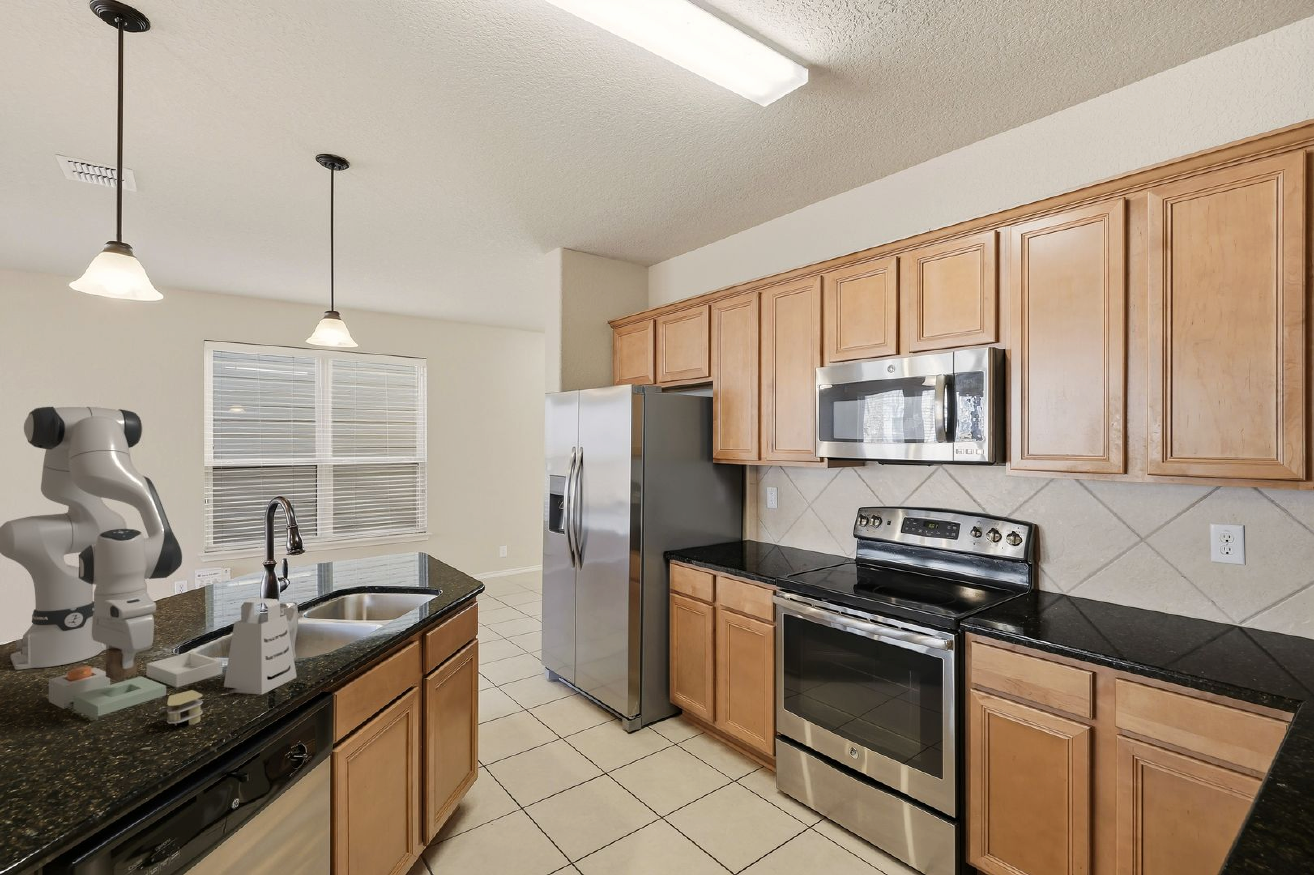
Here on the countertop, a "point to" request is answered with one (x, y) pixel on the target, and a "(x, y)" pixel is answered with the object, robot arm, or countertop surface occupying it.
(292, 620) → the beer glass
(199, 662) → the tote
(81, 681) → the button housing
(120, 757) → the countertop surface
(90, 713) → the pallet plate
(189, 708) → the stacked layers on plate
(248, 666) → the grater
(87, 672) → the button
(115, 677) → the walnut block
